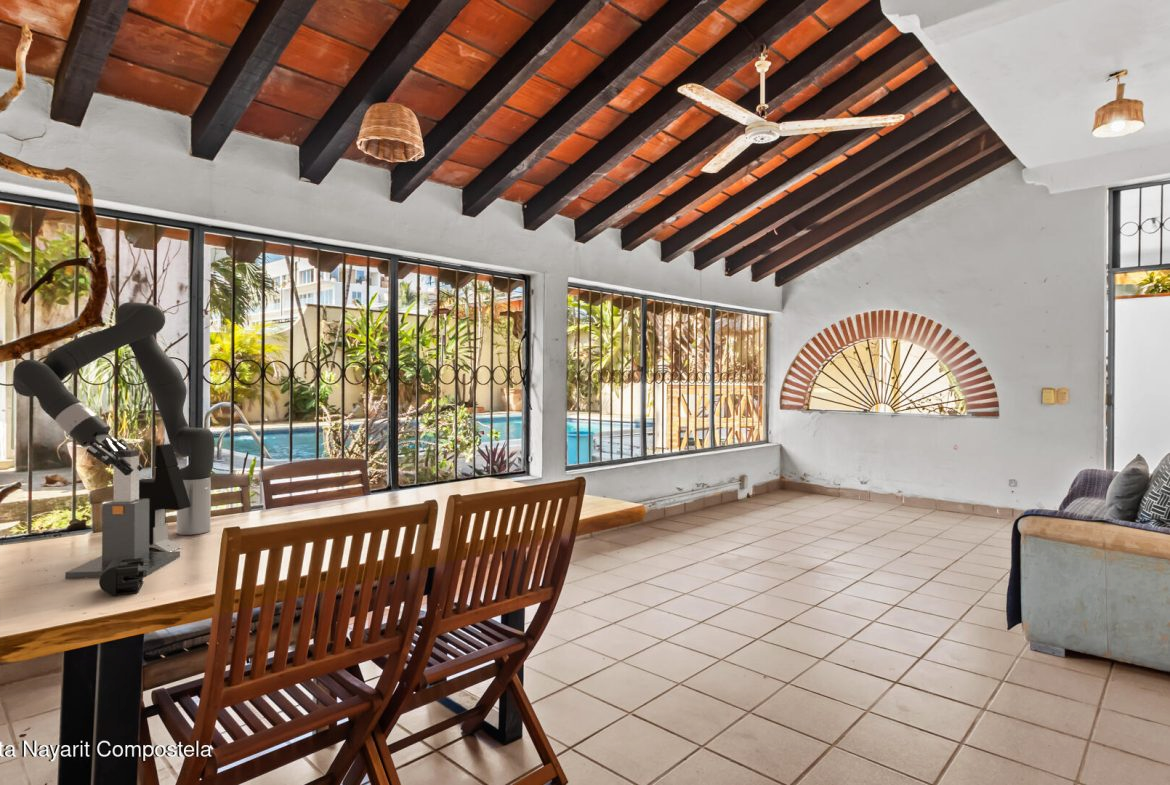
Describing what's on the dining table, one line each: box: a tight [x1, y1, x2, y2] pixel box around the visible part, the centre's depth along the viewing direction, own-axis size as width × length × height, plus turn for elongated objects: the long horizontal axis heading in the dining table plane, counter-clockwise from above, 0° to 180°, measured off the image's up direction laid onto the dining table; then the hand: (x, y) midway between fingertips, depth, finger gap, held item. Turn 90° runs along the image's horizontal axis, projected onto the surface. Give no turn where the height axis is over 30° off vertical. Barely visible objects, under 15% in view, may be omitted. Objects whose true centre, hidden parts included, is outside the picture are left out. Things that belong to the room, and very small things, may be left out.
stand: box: [64, 499, 181, 579], centre depth 167 cm, size 18×18×17 cm
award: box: [139, 443, 191, 552], centre depth 185 cm, size 15×5×30 cm, turn 84°
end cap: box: [98, 557, 145, 597], centre depth 149 cm, size 10×7×7 cm
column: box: [113, 449, 140, 503], centre depth 167 cm, size 4×4×25 cm
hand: (134, 471), depth 168 cm, fingers closed on column, 4 cm apart
